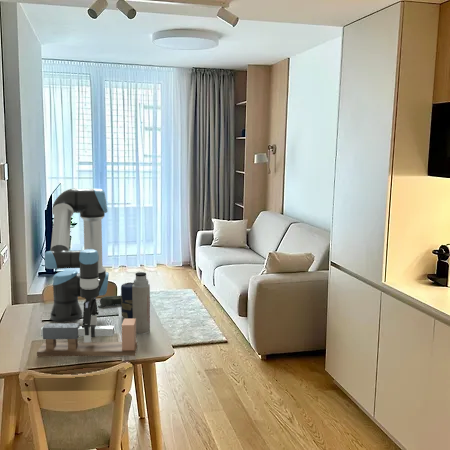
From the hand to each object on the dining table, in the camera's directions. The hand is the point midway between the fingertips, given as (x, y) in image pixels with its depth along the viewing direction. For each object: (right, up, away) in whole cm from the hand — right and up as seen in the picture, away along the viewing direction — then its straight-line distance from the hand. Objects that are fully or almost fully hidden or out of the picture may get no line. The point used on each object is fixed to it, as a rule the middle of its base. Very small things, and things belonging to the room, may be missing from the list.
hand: (90, 335), depth 216 cm
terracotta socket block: (+16, -5, +2) cm, 17 cm away
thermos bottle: (+17, -3, +25) cm, 31 cm away
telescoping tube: (-5, 0, 0) cm, 5 cm away
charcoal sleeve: (-12, 0, -1) cm, 12 cm away
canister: (+9, 0, +43) cm, 44 cm away
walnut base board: (-1, -7, +1) cm, 7 cm away
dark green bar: (-5, +3, +61) cm, 61 cm away
